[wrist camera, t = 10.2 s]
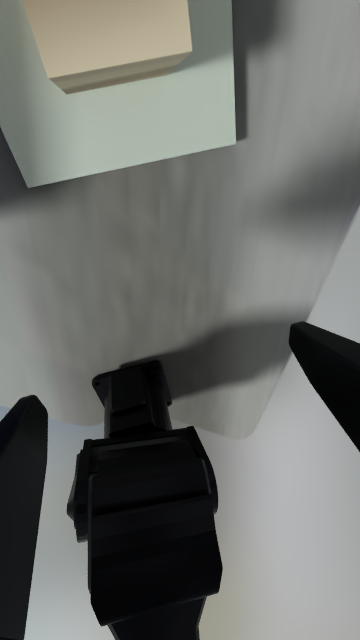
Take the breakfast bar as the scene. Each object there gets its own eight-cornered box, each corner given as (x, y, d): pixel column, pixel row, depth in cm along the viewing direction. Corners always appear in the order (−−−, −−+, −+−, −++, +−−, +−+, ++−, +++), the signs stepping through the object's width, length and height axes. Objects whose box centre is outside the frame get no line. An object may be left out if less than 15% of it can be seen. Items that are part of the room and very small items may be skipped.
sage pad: (229, 143, 17) (235, 143, 16) (32, 185, 16) (28, 188, 15) (213, -264, 9) (222, -300, 9) (-154, -232, 8) (-181, -270, 8)
